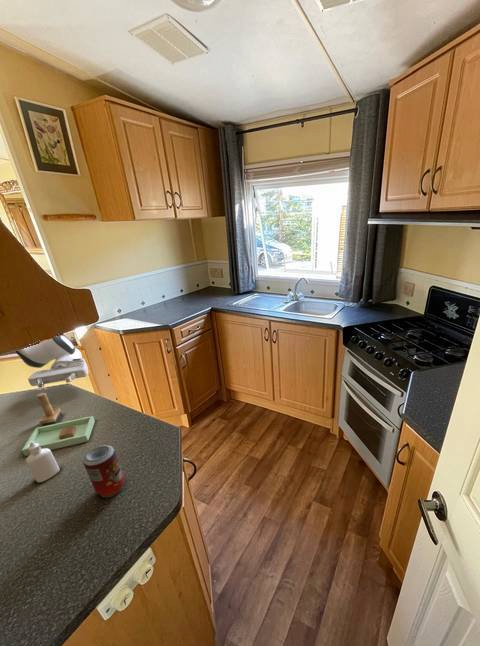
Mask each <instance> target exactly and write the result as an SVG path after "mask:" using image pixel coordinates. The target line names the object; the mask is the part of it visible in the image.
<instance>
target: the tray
mask: <svg viewBox="0 0 480 646" xmlns="http://www.w3.org/2000/svg"><path fill="white" fill-rule="evenodd" d="M95 422H96V421H95V417H94V415H91V416H85V417H81V418H77V419H72V420H67V421H62V422H58V423H57V424H53V425H48V426H43V425H42V426H38V427H35V428H34V430H33V431H32V433H31V435H30V437H28V439H27V441H26V442H25V444H24V446H23V448H22V449H21V451H22V453H23V455H24V457H26V456H27V457H28V456H30V455H31V453H30V452H29V450H28V447H29V446H30V442H31V441H33V442H34V443H38V444H39V445H40V447H41V449H44V448H48V449H49V450H51V451H52V450H57V449H61V448H65V447H69V446H74V445H78V444H83V443H86V442H89V440H90V437H91V434H92V432H93V428H94V425H95ZM73 426H76V429H77V430H76V433H75V435H74V437H69V438H65V439H61V440H60V438H59V434H60V432H61V430H62V429H64V428H69V427H73Z"/></svg>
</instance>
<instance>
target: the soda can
mask: <svg viewBox="0 0 480 646" xmlns="http://www.w3.org/2000/svg"><path fill="white" fill-rule="evenodd" d="M82 464H83V466H84V468H85V470H86V472H87V475H88V478H89V480H90V482H91V484H92V487H93V490H94V491H95V493H96V494H98V495H100V496H101V497H102V498H111V497H114V496H115V495H117V494H119V492H121V491H122V489H123V488H124V483H125V475H124V473H123V472H124V471H123V469H122V467H121V464H120V461H119V459H118V456H117V453H116V450H115V448H114V447H113V446H112V445H108V444H104V445H103V444H102V445H99V446H98V445H97V446H96V447H94V448H92V449H90V450H89V451H88V452H87V453H86V454H85V455H84V456H83V458H82Z"/></svg>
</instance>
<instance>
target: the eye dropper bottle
mask: <svg viewBox="0 0 480 646" xmlns="http://www.w3.org/2000/svg"><path fill="white" fill-rule="evenodd" d="M28 450H29V452H30V453H31V455H27V457H26V459H25V463H26V465H27V467H28V469H29V471H30V473H31V474H32V476H33V478H34V480H35V481H36V482H37V483H43V482H45V481H47V480H49V479H51V478H52V477H54V476H55V475H57V474H58V473H59V472H60V470H61V469H60V466H59V464H58V463H57V460H56V458H55V456H54V454H53V451H52V450H49V449H48V448H44V449H41V447H40V445H39V444H38V443H34V442H33V441H31V442H30V446H29V447H28Z"/></svg>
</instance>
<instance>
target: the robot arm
mask: <svg viewBox="0 0 480 646" xmlns="http://www.w3.org/2000/svg"><path fill="white" fill-rule="evenodd" d="M15 353H16V354H17V356H18V357H19V358H20V360H22V362H23V363H24V364H26V366H28V367H30V368H36V369H41V368H43V367H45V366H47V365H48V364H49V363H50V362H52V361H54V362H53V363H52V364H51V365H50V368H48V369H41V370H38V371H35V372H34V373H32V374H31V375H30V376H29V377H28V378H27V381H28V383H29V385H30V386H31V387H36V386H37V387H38V389H40V388H45V385H48V384H54V383H59V382H64V381H65V383H66V384H68V383H72V381H74V380H76V379H81V378H86V377H87V376H88V375H89V372H90V371H89V367H88V365H87V362H86V360H85V358H83V354H82V351H80V350H79V349H78V348H77V347H75V344H74V343H73V342H72V340H71V339H70V338H69V337H67V336H66V335H64V334H61V335H59V336H57V337H55V338H52V339H49V340H45V341H43V342H41V343H39V344H36V345H33V346H30V347H27V348H24V349H21V350H18V351H16V352H15Z"/></svg>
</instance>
